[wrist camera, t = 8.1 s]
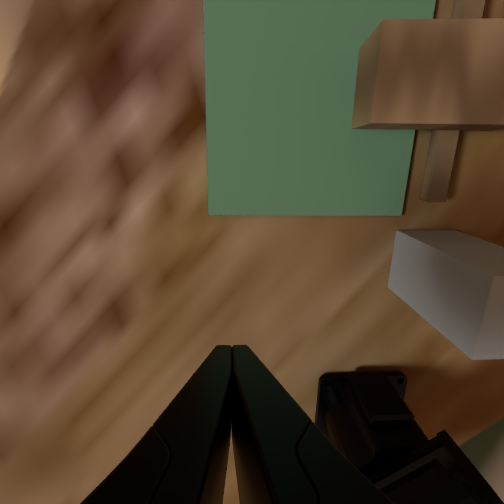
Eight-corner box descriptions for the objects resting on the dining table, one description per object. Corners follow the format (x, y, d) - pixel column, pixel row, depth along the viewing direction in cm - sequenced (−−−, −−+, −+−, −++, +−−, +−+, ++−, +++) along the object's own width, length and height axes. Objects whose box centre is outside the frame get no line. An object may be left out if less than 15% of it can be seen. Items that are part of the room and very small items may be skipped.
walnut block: (558, 125, 14) (370, 123, 14) (497, 130, 18) (351, 128, 18) (588, 17, 13) (383, 19, 13) (516, 48, 17) (359, 48, 17)
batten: (435, 199, 20) (445, 201, 19) (419, 199, 20) (429, 201, 19) (478, -34, 17) (494, -45, 16) (460, -35, 17) (474, -46, 16)
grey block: (443, 286, 22) (555, 357, 15) (387, 287, 22) (472, 359, 14) (455, 229, 21) (584, 275, 13) (396, 229, 21) (493, 276, 13)
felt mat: (399, 214, 20) (401, 215, 20) (208, 214, 20) (208, 215, 19) (442, -61, 16) (446, -64, 16) (201, -77, 15) (201, -81, 15)
